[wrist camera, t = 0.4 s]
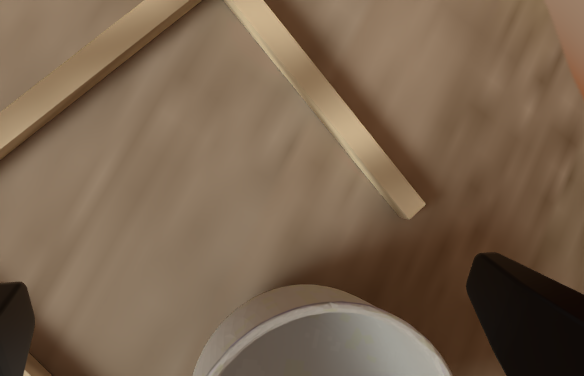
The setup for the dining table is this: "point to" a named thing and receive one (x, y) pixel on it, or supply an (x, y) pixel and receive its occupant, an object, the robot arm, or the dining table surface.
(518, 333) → the robot arm
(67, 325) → the dining table surface
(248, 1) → the frame
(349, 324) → the teacup
